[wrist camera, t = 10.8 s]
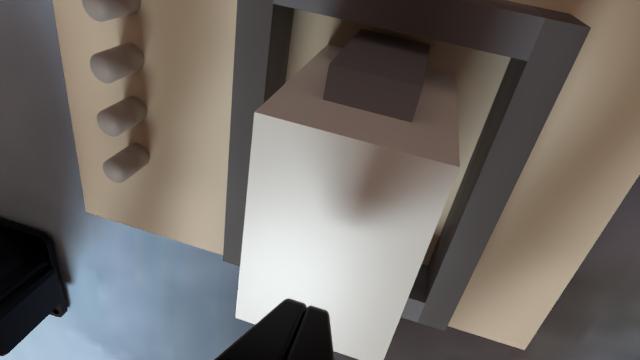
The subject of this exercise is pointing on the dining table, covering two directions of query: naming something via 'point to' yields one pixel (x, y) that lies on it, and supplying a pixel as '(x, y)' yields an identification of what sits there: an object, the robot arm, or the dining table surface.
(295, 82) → the plug
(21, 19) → the dining table surface
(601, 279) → the dining table surface
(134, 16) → the header board
